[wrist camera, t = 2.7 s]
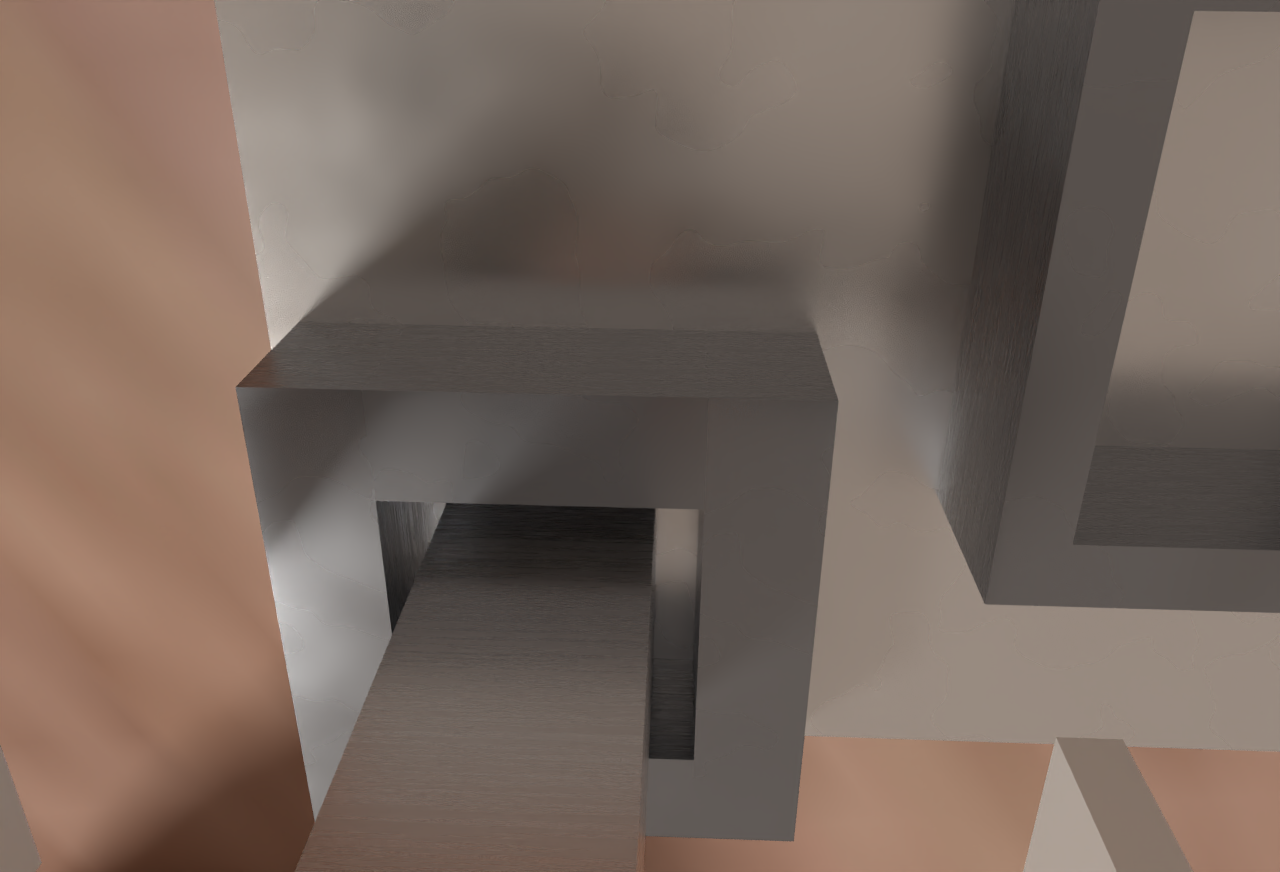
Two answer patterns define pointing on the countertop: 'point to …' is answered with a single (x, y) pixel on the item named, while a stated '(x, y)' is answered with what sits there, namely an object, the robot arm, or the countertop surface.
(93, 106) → the countertop surface
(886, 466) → the dock
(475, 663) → the pin
